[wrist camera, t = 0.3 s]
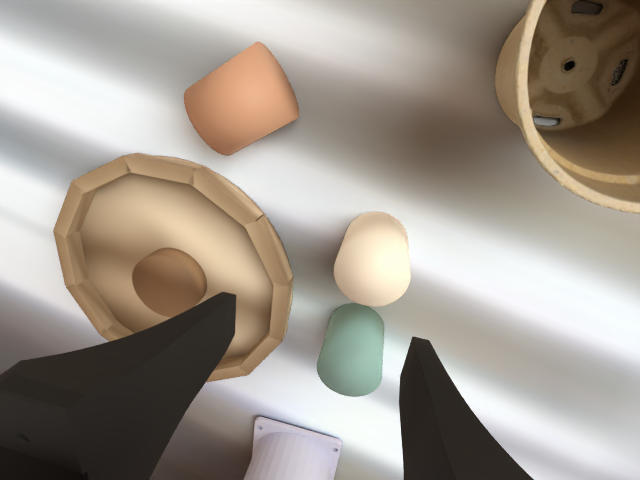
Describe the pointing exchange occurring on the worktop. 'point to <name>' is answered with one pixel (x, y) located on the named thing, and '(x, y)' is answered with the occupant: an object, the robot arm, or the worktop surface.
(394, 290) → the bead cream
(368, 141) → the worktop surface
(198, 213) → the ring tray
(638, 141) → the flower pot
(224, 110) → the pink rounded lump
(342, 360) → the bead teal
